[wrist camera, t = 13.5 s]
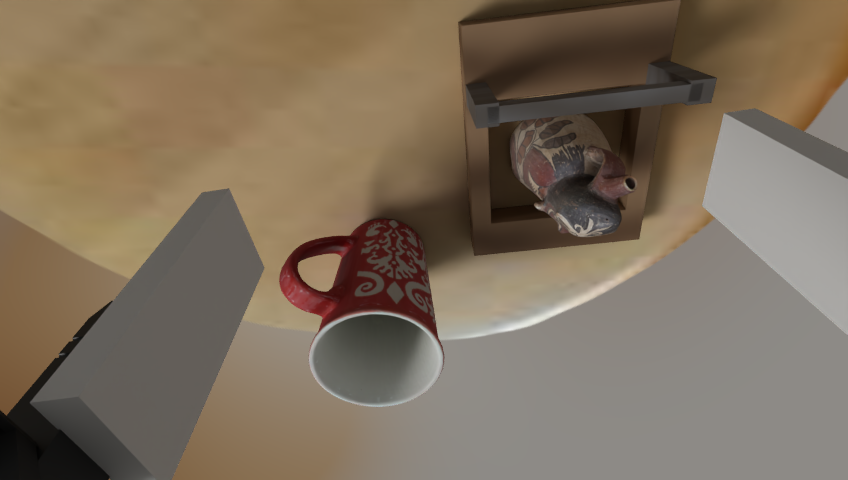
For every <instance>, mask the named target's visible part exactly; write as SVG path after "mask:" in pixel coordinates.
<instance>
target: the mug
mask: <svg viewBox="0 0 848 480" xmlns="http://www.w3.org/2000/svg"><path fill="white" fill-rule="evenodd" d="M330 253H335V254H339V255H340V256H341V257H342V259H341V262H340V265H339V268H338V271H337V275H336V278H335V281H334V284H333V287H332V288H331V289H330V290H329V291H327V292H321V291H318V290H316V289H313V288H312V287H310V286H309V285H307V284H306V283H305V282H304V281H303V280H302V279H301V277H300V275H299V273H298V268H297V267H298V262H300V261H301V260H304V259H306V258H309V257H313V256H317V255H322V254H330ZM279 282H280V287H281V291H282V292H283V294H284V296H285V297H286V298H287V299H288V300H289V301H290V302H291V303H292V304H293V305H294V306H296V307H297V308H299V309H302V310H304V311H306V312H310V313H314V314H318V315H320V316H322V318H323V319H322V322H321V325H320V328H319V331H318V333H317V334H316V336H315V337H314V339H313V341H312V344H311V346H310V350H309V366H310V369H311V372H312V374H313V376H314V378H315V379H316V381H317V382H318V383H319V384H320V385H321V386H322V387H323V388H324V389H325V390H326V391H328V392H329V393H330V394H332V395H334V396H335V397H337V398H339V399H341V400H344V401H347V402H350V403H353V404H358V405H362V406H373V407H384V406H391V405H397V404H401V403H404V402H408V401H410V400H413V399H415V398H417V397H419V396H421V395H422V394H424V393H425V392H426V391H427V390H429V389H430V388H431V387H432V386H433V385H434V384H435V382H436V381H437V380H438V378H439V376H440V374H441V372H442V369H443V365H444V352H443V347H442V345H441V342H440V341H439V339H438V334H437V328H436V321H435V314H434V308H433V302H432V296H431V289H430V283H429V276H428V271H427V265H426V256H425V250H424V246H423V243H422V241H421V239H420V237H419V236H418V234H417V233H416V232H415V231H414V230H413V229H412V228H410V227H409V226H407V225H406V224H403V223H401V222H398V221H395V220H389V219H378V220H373V221H369V222H367V223H364V224H362V225H361V226H359V227H358V228H356V229H355V230H354V231H353V232H352V234H351V235H350V236H332V237H324V238H319V239H315V240H312V241H309V242H306V243H304V244H302V245H300V246H299V247H298V248H296V249H295V250H294V251H293V252H292V254H291V255H290V256H289V257H288V259H287V260H286V262H285V264H284V266H283V267H282V270H281V273H280V279H279Z"/></svg>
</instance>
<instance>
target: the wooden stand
mask: <svg viewBox="0 0 848 480" xmlns="http://www.w3.org/2000/svg"><path fill="white" fill-rule="evenodd" d="M680 2H681V0H638V1H629V2H621V3H613V4H605V5H596V6H588V7H580V8H571V9H563V10H555V11H547V12H538V13H530V14H522V15H513V16H505V17H497V18H489V19H480V20H472V21H464V22H458V25H459V42H460V58H461V75H462V92H463V109H464V125H465V142H466V159H467V176H468V192H469V209H470V226H471V241H472V246H473V250H474V255H475V256H477V255H487V254H497V253H507V252H517V251H527V250H537V249H547V248H557V247H567V246H577V245H587V244H597V243H607V242H617V241H626V240H636V239H639V237H640V231H641V226H642V220H643V214H644V208H645V203H646V197H647V191H648V185H649V180H650V174H651V168H652V163H653V157H654V151H655V145H656V140H657V134H658V128H659V122H660V117H661V111H662V105H664V104H673V103H683V104H685V105H694V104H703V103H711V101H712V97H713V93H714V88H715V84H716V80H717V78H715V77H713V76H710V75H707V74H704V73H701V72H699V71H696V70H693V69H690V68H687V67H684V66H682V65H679V64H676V63H673V62H670V59H671V53H672V48H673V42H674V36H675V30H676V25H677V19H678V13H679V8H680ZM626 85H629V86H628V87H622V88H614V89H605V90H596V91H587V92H578V93H570V94H561V95H552V96H543V97H534V98H526V99H517V100H508V101H499V102H498V100H503V99H512V98H520V97H529V96H538V95H547V94H556V93H564V92H573V91H582V90H591V89H600V88H608V87H617V86H626ZM620 109H625V117H624V125H623V132H622V140H621V147H620V155H619V158H620V159H621V160H622V162H623V164H624V166H625V168H626V171H625V175H626V174H627V175H630V176H633V177H634V178H635V179H636V180H637V183H638V184H637V189H636V190H635V191H634V192H633V193H630V194H627V195H624V196H621V197H619V198H618V199H617V203H618V206H619V208H620V211H621V215H622V220H621V223H620V225H619V227H618V229H617V230H616V231H615V232H613V233H610V234H606V235H599V236H592V237H578V236H575V235H573V234H571V233H570V232H569V233H560V232H559V230H558V224H557V222H556V221H555V220H554V219H553V218H552V217H551V216H550V215H549V214H547V213H546V212H544V211H541V210H539V209H537V208H536V207H535V206H534V205H528V206H518V207H508V208H499V209H491V205H490V173H489V142H488V127H497V126H499V123H503V122H512V121H521V120H530V119H539V118H548V117H557V116H566V115H575V114H584V113H593V112H602V111H611V110H620Z"/></svg>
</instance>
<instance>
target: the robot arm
mask: <svg viewBox="0 0 848 480" xmlns="http://www.w3.org/2000/svg"><path fill="white" fill-rule="evenodd" d="M702 206H703V207H704V208H705V209H706V210H707V211H708V212H710V213H711V214H712V215H713V216H714V217H715V218H716V219H717V220H719V221H720V222H721V223H722V224H723V225H724V226H725V227H726V228H728V229H729V230H730V231H731V232H732V233H733V234H734V235H735V236H737V237H738V238H739V239H740V240H741V241H742V242H743V243H744V244H745V245H747V246H748V247H749V248H750V249H751V250H752V251H753V252H755V253H756V254H757V255H758V256H759V257H760V258H761V259H762V260H763V261H765V262H766V263H767V264H768V265H769V266H770V267H772V269H774V270H775V271H776V272H777V273H778V274H779V275H780V276H782V277H783V278H784V279H785V280H786V281H787V282H788V283H789V284H790V285H792V286H793V287H794V288H795V289H796V290H797V291H798V292H799V293H801V294H802V295H803V296H804V297H805V298H806V299H807V300H809V301H810V302H811V303H812V304H813V305H814V306H815V307H816V308H817V309H819V310H820V311H821V312H822V313H823V314H824V315H825V316H826V317H828V318H829V319H830V320H831V321H832V322H833V323H834V324H835V325H837V326H838V327H839V328H840V329H841V330H842V331H843V332H845V333H846V334H847V335H848V152H846V151H844V150H842V149H840V148H837V147H835V146H833V145H831V144H829V143H827V142H825V141H823V140H820V139H819V138H816V137H814V136H812V135H810V134H808V133H806V132H804V131H802V130H800V129H797V128H795V127H793V126H791V125H789V124H787V123H785V122H783V121H781V120H778V119H776V118H774V117H772V116H770V115H768V114H766V113H764V112H762V111H760V110H757V109H755V108H754V109H748V110H741V111H735V112H728V113H724V116H723V120H722V124H721V129H720V133H719V137H718V141H717V145H716V150H715V154H714V158H713V162H712V166H711V171H710V175H709V179H708V183H707V188H706V192H705V196H704V200H703V204H702ZM263 270H264V266H263V263H262V261H261V259H260V257H259V255H258V252H257V250H256V248H255V246H254V243H253V241H252V239H251V237H250V234H249V232H248V230H247V228H246V225H245V223H244V221H243V219H242V216H241V214H240V212H239V210H238V207H237V205H236V203H235V201H234V198H233V196H232V194H231V192H230V190H229V189H222V190H216V191H209V192H203V193H201V194H200V196H199V197H198V198H197V199H196V201H195V202H194V203H193V204H192V205H191V207H190V208H189V209H188V210H187V212H186V213H185V214H184V215H183V216H182V218H181V219H180V220H179V221H178V223H177V224H176V225H175V226H174V227H173V229H172V230H171V231H170V232H169V233H168V235H167V236H166V237H165V238H164V240H163V241H162V242H161V243H160V244H159V246H158V247H157V248H156V249H155V251H154V252H153V253H152V254H151V255H150V257H149V258H148V259H147V260H146V262H145V263H144V264H143V265H142V266H141V268H140V269H139V270H138V271H137V273H136V274H135V275H134V276H133V277H132V279H131V280H130V281H129V282H128V284H127V285H126V286H125V287H124V288H123V290H122V291H121V292H120V293H119V295H118V296H117V297H116V298H115V299H114V301H111V302H109V303H108V304H107V305H106V306H104V307H103V308H102V309H101V310H99V311H98V312H97V313H95V314H94V315H93V316H91V317H90V318H89V319H88V320H87V321H86V322H85V324H84V325H83V326H82V327H81V328H80V330H79V331H78V332H77V333H76V334H75V335H74V337H73V341H71V342H69V343H68V344H67V345H66V346H65V347H64V348H63V350H62V351H61V352H60V353H59V358H55V359H54V360H53V362H52V363H51V364H50V365H49V366H48V367H47V369H46V370H45V371H44V372H43V373H42V375H41V376H40V377H39V378H38V379H37V380H36V382H35V383H34V384H33V385H32V387H30V389H29V390H28V391H27V392H26V393H25V394H24V396H23V397H22V398H21V399H20V400H19V402H18V403H17V404H16V405H15V406H14V407H13V409H12V410H11V411H10V412H9V413H8V415H7V416H6V415H5V414H4V413H2V412H1V411H0V480H108V479H109V478H110V479H111V480H172V478H173V475H174V473H175V471H176V468H177V466H178V464H179V461H180V459H181V457H182V455H183V452H184V450H185V448H186V445H187V443H188V441H189V439H190V437H191V434H192V432H193V430H194V427H195V425H196V423H197V420H198V418H199V416H200V414H201V411H202V409H203V407H204V404H205V402H206V400H207V397H208V395H209V393H210V391H211V388H212V386H213V384H214V382H215V379H216V377H217V375H218V372H219V370H220V368H221V366H222V363H223V361H224V359H225V357H226V354H227V352H228V350H229V347H230V345H231V343H232V340H233V338H234V336H235V334H236V331H237V329H238V327H239V325H240V322H241V320H242V318H243V316H244V313H245V311H246V309H247V306H248V304H249V302H250V300H251V297H252V295H253V293H254V290H255V288H256V286H257V284H258V281H259V279H260V277H261V274H262V272H263Z"/></svg>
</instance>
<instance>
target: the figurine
mask: <svg viewBox="0 0 848 480" xmlns="http://www.w3.org/2000/svg"><path fill="white" fill-rule="evenodd" d="M510 156H511V161H512V168H511V169H512V171H513V174H514V176H515V177H516V178H517V179H518V180H519V181H520V182H521V183H522V184H523V185H525V186H526V187H527V188H528V189H529V190H531V191H532V192H533V193H534V194H535V195H537V196H538V197H539V198H540V199H541V200H542V201H539V202H535V203H534V206H535V207H536V208H537V209H539V210H541V211H544V212H546V213H547V214H549V215H550V216H551V217H552V218H553V219H554V220H555V221H556V222H557V224H558V230H559V232H560V233H569V232H570V233H571V234H573V235H575V236H578V237H592V236H599V235H606V234H610V233H613V232H615V231H616V230H617V229H618V227H619V225H620V223H621V220H622V215H621V211H620V208H619V206H618V203H617V199H618V198H619V197H621V196H624V195H627V194H630V193H633V192H634V191H635V190H636V189H637V184H638V183H637V180H636V179H635V178H634V177H633V176H630V175H627V174H626V175H625V171H626V168H625V166H624V164H623V162H622V160H621V159H620V158H619V157H618V156H617V155H615V154H614V153H612V150H611V148H610V146H609V144H608V141H607V139H606V137H605V136H604V134H603V132H602V131H601V130H600V129H599V127H598V126H597V125H596V124H595V122H594V121H593V120H592V119H591V118H589V117H588V116H586V115H585V114H575V115H566V116H557V117H548V118H539V119H530V120H523V121H522V122H520V124H519V125H518V126H517V127H516V129H515V130H514V132H513V134H512V136H511V138H510Z"/></svg>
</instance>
